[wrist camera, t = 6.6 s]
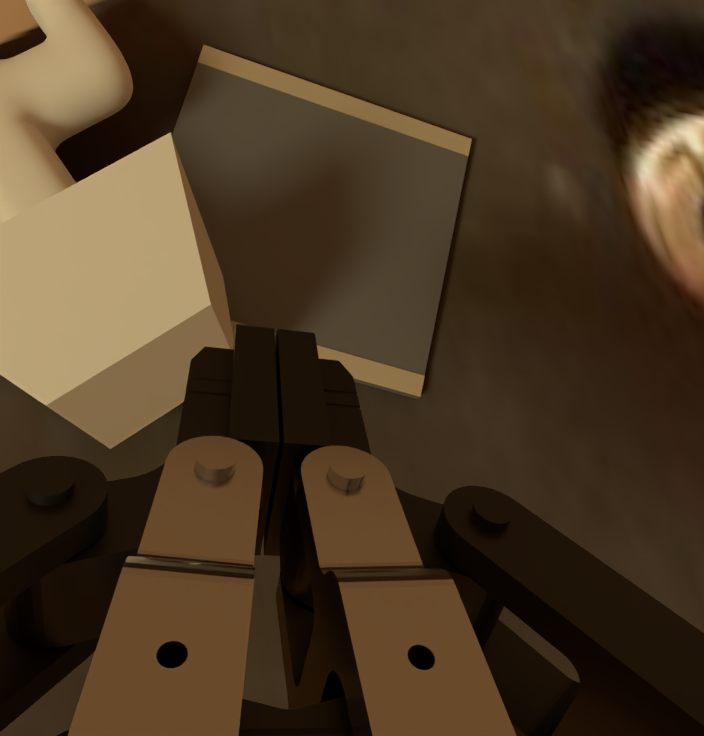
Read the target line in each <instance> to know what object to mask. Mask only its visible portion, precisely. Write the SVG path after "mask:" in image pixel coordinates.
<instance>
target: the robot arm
mask: <svg viewBox="0 0 704 736" xmlns="http://www.w3.org/2000/svg"><path fill="white" fill-rule="evenodd" d="M356 393H357V392H356V388H355V383H354V379H353V376H352V375H351V374H350V372H349V371H348V370H347V369H346V368H345V367H344V366H343V365H342V363H341V362H340V361H338V360H329V359H319V356H318V350H317V343H316V337H315V333H312V332H303V331H294V330H285V329H276V333H274V328H267V327H258V326H249V325H241V324H236V327H235V334H234V342H233V349H224V348H214V347H204V348H203V349H202V350H201V351H200V352H199V353H198V354H197V355H195V356H194V357H193V358H192V359H191V362H190V368H189V374H188V380H187V386H186V393H185V398H184V404H183V410H182V416H181V422H180V427H179V433H178V439H177V445H176V447H175V448H174V449H172V451H171V452H170V453H169V454H168V457H167V459H166V462H165V463H164V464H163V465H162V466H160V467H158V468H157V469H155V470H153V471H151V472H149V473H146V474H143V475H140V476H136V477H132V478H126V479H120V480H114V481H108V482H107V480H106V478H105V476H104V474H103V473H102V472H101V470H100V469H98V468H97V467H96V466H95V465H93V464H91V463H89V462H87V461H84V460H81V459H78V458H73V457H66V456H49V457H41V458H36V459H32V460H29V461H26V462H23V463H20V464H18V465H16V466H14V467H12V468H10V469H8V470H6V471H4V472H2V473H0V732H1V731H2V730H3V729H4V728H6V727H7V726H8V725H9V724H10V723H11V722H13V721H14V720H15V719H16V718H17V717H19V716H20V715H21V714H22V713H23V712H24V711H26V710H27V709H28V708H29V707H30V706H31V705H33V704H34V703H35V702H36V701H37V700H39V699H40V698H41V697H42V696H43V695H44V694H46V693H47V692H48V691H49V690H50V689H51V688H53V687H54V686H55V685H56V684H57V683H59V682H60V681H61V680H62V679H63V678H64V677H66V676H67V675H68V674H69V673H70V672H71V671H73V670H74V669H75V668H76V667H77V666H79V665H80V664H81V663H82V662H83V661H84V660H86V659H87V658H88V657H89V656H90V655H91V654H92V653H93V652H94V651H95V653H94V656H93V659H92V663H91V666H90V669H89V672H88V675H87V678H86V681H85V684H84V687H83V690H82V693H81V696H80V699H79V702H78V705H77V709H76V712H75V715H74V718H73V721H72V724H71V727H70V730H67V731H65V732H63V733H61V734H59V735H57V736H704V633H703V632H701V631H700V630H698V629H697V628H696V627H694V626H693V625H691V624H690V623H688V622H687V621H686V620H684V619H683V618H681V617H680V616H679V615H677V614H676V613H674V612H673V611H671V610H670V609H669V608H667V607H666V606H664V605H663V604H661V603H660V602H659V601H657V600H656V599H654V598H653V597H651V596H650V595H649V594H647V593H646V592H644V591H643V590H642V589H640V588H639V587H637V586H636V585H634V584H633V583H632V582H630V581H629V580H627V579H626V578H624V577H623V576H622V575H620V574H619V573H617V572H616V571H614V570H613V569H612V568H610V567H609V566H607V565H606V564H605V563H603V562H602V561H600V560H599V559H597V558H596V557H595V556H593V555H592V554H590V553H589V552H587V551H586V550H585V549H583V548H582V547H580V546H579V545H578V544H576V543H575V542H573V541H572V540H570V539H569V538H568V537H566V536H565V535H563V534H562V533H560V532H559V531H558V530H556V529H555V528H553V527H552V526H550V525H549V524H548V523H546V522H545V521H543V520H542V519H541V518H539V517H538V516H536V515H535V514H533V513H532V512H531V511H529V510H528V509H526V508H525V507H523V506H522V505H521V504H519V503H518V502H516V501H515V500H513V499H512V498H510V497H509V496H507V495H505V494H503V493H501V492H498V491H496V490H493V489H489V488H486V487H479V486H466V487H461V488H458V489H456V490H454V491H452V492H451V493H450V494H449V495H448V496H447V497H446V499H445V502H444V505H443V504H439V503H436V502H433V501H429V500H426V499H423V498H420V497H416V496H413V495H411V494H408V493H406V492H404V491H402V490H400V489H398V488H396V487H395V486H394V484H393V481H392V479H391V476H390V474H389V472H388V470H387V469H386V467H385V466H384V465H383V464H382V463H381V462H380V461H379V460H378V459H376V458H375V457H374V456H372V455H371V453H370V448H369V444H368V440H367V435H366V431H365V427H364V422H363V418H362V414H361V410H359V408H360V405H359V401H358V396H356ZM263 535H264V555H273V556H280V576H279V581H278V586H277V591H276V603H277V611H278V620H279V628H280V636H281V645H282V653H283V662H284V670H285V678H286V687H287V695H288V710H286V709H280V708H276V707H272V706H268V705H264V704H260V703H257V702H253V701H249V700H245V699H242V696H243V686H244V676H245V666H246V656H247V646H248V636H249V626H250V616H251V607H252V597H253V587H254V576H255V567H253V564H254V555H260V552H261V546H262V540H263ZM504 606H505V607H506V608H507V609H509V610H510V611H511V612H512V613H514V614H515V615H516V616H517V617H518V618H520V619H521V620H522V621H523V622H525V623H526V624H527V625H528V626H529V627H531V628H532V629H533V630H534V631H536V632H537V633H538V634H539V635H541V636H542V637H543V638H544V639H545V640H547V641H548V642H549V643H550V644H552V645H553V646H554V647H555V648H556V649H558V650H559V651H560V652H561V653H563V654H564V655H565V656H566V657H567V658H568V659H569V660H570V661H571V663H572V664H573V665H574V667H575V669H576V670H577V673H578V675H579V679H580V683H578V682H575V681H573V680H571V679H570V678H568V677H567V676H566V675H564V674H563V673H562V672H561V671H560V670H558V669H557V668H556V667H555V666H554V665H552V664H551V663H550V662H549V661H548V660H546V659H545V658H544V657H543V656H542V655H540V654H539V653H538V652H537V651H536V650H534V649H533V648H532V647H531V646H530V645H528V644H527V643H526V642H525V641H524V640H522V639H521V638H520V637H519V636H518V635H516V634H515V633H514V632H513V631H512V630H511V629H509V628H508V627H507V626H506V625H505V624H503V623H502V622H501V621H500V620H499V619H498V618H499V616H500V614H501V611H502V609H503V607H504Z"/></svg>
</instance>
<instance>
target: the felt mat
mask: <svg viewBox="0 0 704 736" xmlns="http://www.w3.org/2000/svg"><path fill="white" fill-rule="evenodd" d="M172 138H173V140H174V143H175V146H176V149H177V151H178V154H179V157H180V160H181V162H182V165H183V168H184V171H185V173H186V176H187V179H188V182H189V184H190V187H191V190H192V193H193V195H194V198H195V201H196V204H197V206H198V209H199V212H200V215H201V217H202V220H203V223H204V226H205V228H206V231H207V234H208V236H209V239H210V242H211V245H212V247H213V250H214V253H215V256H216V258H217V261H218V264H219V267H220V269H221V272H222V275H223V279H224V285H225V291H226V297H227V303H228V309H229V315H230V321H231V327H232V333H233V338H234V334H235V327H236V324H241V325H249V326H258V327H267V328H274V333H276V329H285V330H294V331H303V332H312V333H315V337H316V343H317V350H318V356H319V359H329V360H338V361H340V362H341V363H342V365H343V366H344V367H345V368H346V369H347V370H348V371H349V372H350V374H351V375H352V376H353V379H354V382H357V383H361V384H365V385H368V386H372V387H375V388H379V389H382V390H386V391H390V392H393V393H397V394H400V395H404V396H408V397H411V398H415V399H418V398H419V397H421V392H422V387H423V382H424V377H425V371H426V366H427V361H428V355H429V350H430V345H431V340H432V335H433V330H434V325H435V320H436V315H437V310H438V305H439V300H440V295H441V290H442V285H443V280H444V275H445V270H446V265H447V260H448V255H449V250H450V245H451V240H452V235H453V230H454V225H455V220H456V215H457V210H458V205H459V200H460V195H461V190H462V185H463V180H464V175H465V170H466V165H467V160H468V156H469V151H470V146H471V141H472V139H470V138H468V137H465V136H462V135H459V134H456V133H453V132H451V131H448V130H445V129H442V128H439V127H436V126H433V125H431V124H428V123H425V122H422V121H419V120H416V119H414V118H411V117H408V116H405V115H402V114H399V113H397V112H394V111H391V110H388V109H385V108H382V107H379V106H377V105H374V104H371V103H368V102H365V101H362V100H360V99H357V98H354V97H351V96H348V95H345V94H343V93H340V92H337V91H334V90H331V89H328V88H325V87H323V86H320V85H317V84H314V83H311V82H308V81H306V80H303V79H300V78H297V77H294V76H291V75H289V74H286V73H283V72H280V71H277V70H274V69H271V68H269V67H266V66H263V65H260V64H257V63H254V62H252V61H249V60H246V59H243V58H240V57H237V56H235V55H232V54H229V53H226V52H223V51H220V50H218V49H215V48H212V47H209V46H206V45H203V48H202V51H201V54H200V57H199V60H198V63H197V66H196V69H195V72H194V74H193V77H192V80H191V83H190V86H189V89H188V91H187V94H186V97H185V100H184V103H183V106H182V109H181V111H180V114H179V117H178V120H177V123H176V126H175V128H174V131H173V134H172Z"/></svg>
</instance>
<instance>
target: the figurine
mask: <svg viewBox="0 0 704 736" xmlns="http://www.w3.org/2000/svg"><path fill="white" fill-rule="evenodd" d="M25 1H26V4H27V6H28V8H29V10H30V12H31V14H32V15H33V17H34V19H35V21H36V22H37V23H38V25H39V26H40V28H41V29H42V30H43V32H44V33H45V35H46V36H47V38H46V40H45V41H44V42H43V43H41V44H40V45H38V46H35V47H33V48H31V49H29V50H27V51H25V52H23V53H21V54H19V55H17V56H15V57H12V58H9V59H3V60H0V375H2V376H3V377H5V378H6V379H8V380H9V381H11V382H12V383H13V384H15V385H16V386H18V387H19V388H21V389H22V390H24V391H25V392H27V393H28V394H30V395H31V396H33V397H34V398H35V399H37V400H38V401H40V402H41V403H43V404H44V405H46V406H47V407H49V408H50V409H52V410H53V411H55V412H56V413H58V414H59V415H61V416H62V417H64V418H65V419H67V420H68V421H70V422H71V423H73V424H74V425H76V426H77V427H79V428H80V429H81V430H83V431H84V432H86V433H87V434H89V435H90V436H92V437H93V438H95V439H96V440H98V441H99V442H101V443H102V444H104V445H105V446H107V447H108V448H110V449H111V448H113V447H114V446H116V445H117V444H119V443H120V442H122V441H124V440H125V439H127V438H128V437H130V436H131V435H133V434H134V433H136V432H138V431H139V430H141V429H142V428H144V427H145V426H147V425H148V424H150V423H152V422H153V421H155V420H156V419H158V418H159V417H161V416H162V415H164V414H166V413H167V412H169V411H170V410H172V409H173V408H175V407H176V406H178V405H180V404H181V403H183V402H184V398H185V393H186V386H187V380H188V374H189V368H190V362H191V359H192V358H193V357H194V356H195V355H197V354H198V353H199V352H200V351H201V350H202V349H203V348H204V347H214V348H224V349H233V342H234V338H233V333H232V327H231V321H230V315H229V309H228V303H227V297H226V291H225V285H224V279H223V275H222V272H221V269H220V267H219V264H218V261H217V258H216V256H215V253H214V250H213V247H212V245H211V242H210V239H209V236H208V234H207V231H206V228H205V226H204V223H203V220H202V217H201V215H200V212H199V209H198V206H197V204H196V201H195V198H194V195H193V193H192V190H191V187H190V184H189V182H188V179H187V176H186V173H185V171H184V168H183V165H182V162H181V160H180V157H179V154H178V151H177V149H176V146H175V143H174V140H173V138H172V135H171V132H170V133H168V134H166V135H165V136H163V137H161V138H159V139H157V140H155V141H154V142H152V143H150V144H148V145H146V146H144V147H142V148H141V149H139V150H137V151H135V152H133V153H131V154H129V155H128V156H126V157H124V158H122V159H120V160H118V161H116V162H115V163H113V164H111V165H109V166H107V167H105V168H103V169H102V170H100V171H98V172H96V173H94V174H92V175H90V176H89V177H87V178H85V179H83V180H81V181H79V182H78V183H76V182H75V181H74V179H73V178H72V176H71V175H70V173H69V172H68V170H67V169H66V167H65V166H64V164H63V163H62V161H61V160H60V159H59V157H58V156H57V154H56V153H55V150H56V148H57V147H58V146H59V145H60V144H61V143H62V142H63V141H64V140H66V139H68V138H69V137H71V136H73V135H75V134H77V133H79V132H81V131H83V130H85V129H87V128H89V127H91V126H92V125H94V124H96V123H98V122H100V121H102V120H104V119H106V118H108V117H110V116H112V115H113V114H115V113H117V112H118V111H120V110H121V109H122V108H123V107H125V106H126V104H127V103H128V102H129V100H130V99H131V96H132V92H133V82H132V77H131V73H130V70H129V67H128V65H127V63H126V61H125V59H124V57H123V55H122V53H121V52H120V50H119V48H118V47H117V45H116V44H115V42H114V41H113V39H112V38H111V37H110V35H109V34H108V32H107V31H106V30H105V28H104V27H103V26H102V24H101V23H100V22H99V20H98V19H97V18H96V17H95V15H94V14H93V13H92V11H91V10H90V9H89V7H88V6H87V5H86V4H85V2H84V1H83V0H25Z"/></svg>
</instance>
